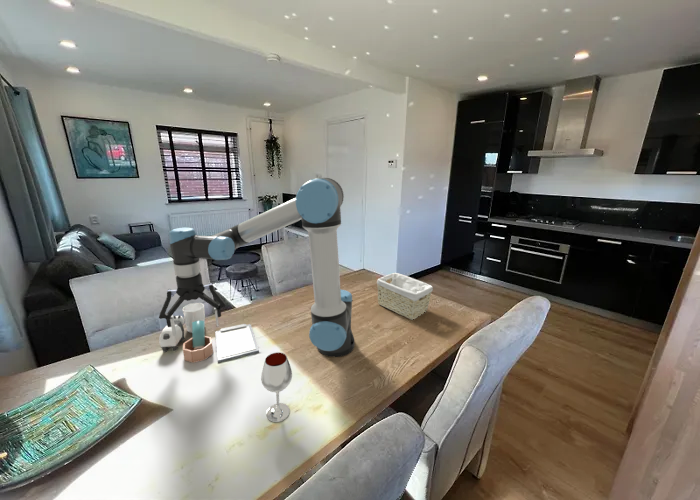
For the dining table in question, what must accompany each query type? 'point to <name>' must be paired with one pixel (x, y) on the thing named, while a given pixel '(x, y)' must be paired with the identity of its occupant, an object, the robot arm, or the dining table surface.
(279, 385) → the wineglass
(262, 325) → the dining table surface
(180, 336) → the giant panda
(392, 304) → the storage basket
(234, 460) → the dining table surface
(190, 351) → the terracotta octagonal bowl
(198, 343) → the teal cylinder
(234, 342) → the clipboard
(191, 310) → the white cup
